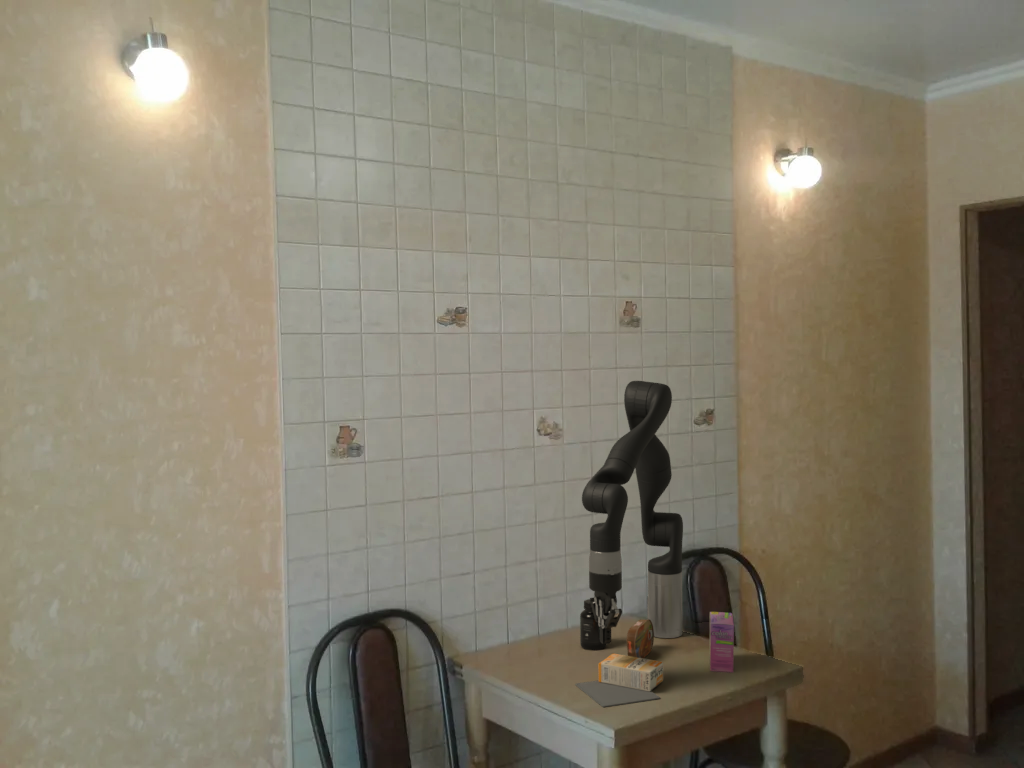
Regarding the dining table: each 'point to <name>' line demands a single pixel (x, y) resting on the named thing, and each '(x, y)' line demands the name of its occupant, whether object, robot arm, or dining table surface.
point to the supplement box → (630, 672)
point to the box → (721, 642)
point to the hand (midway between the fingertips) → (605, 643)
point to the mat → (614, 693)
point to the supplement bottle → (589, 629)
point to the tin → (640, 639)
